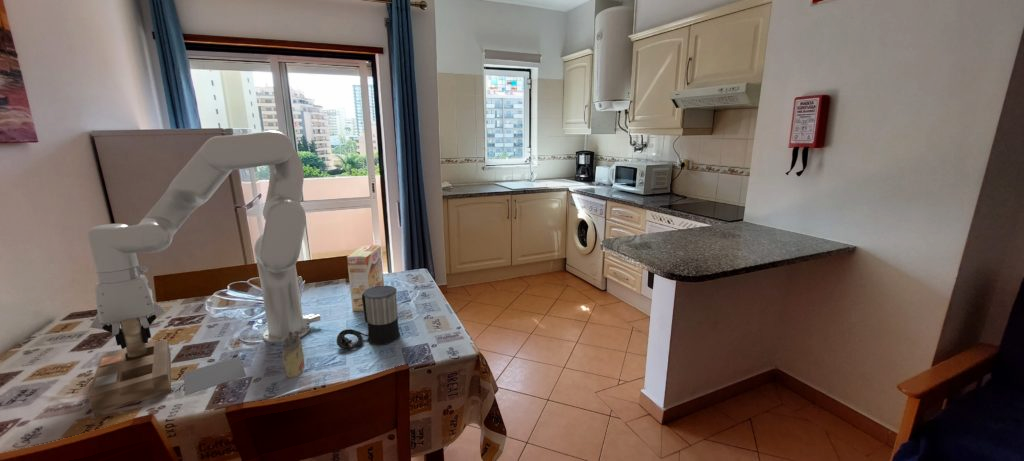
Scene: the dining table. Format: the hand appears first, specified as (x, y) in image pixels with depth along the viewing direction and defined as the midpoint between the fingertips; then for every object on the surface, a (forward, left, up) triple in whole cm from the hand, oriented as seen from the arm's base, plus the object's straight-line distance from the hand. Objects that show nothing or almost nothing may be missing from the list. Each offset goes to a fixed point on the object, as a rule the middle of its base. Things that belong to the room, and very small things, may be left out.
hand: (135, 343), depth 103 cm
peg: (0, 0, -3) cm, 3 cm away
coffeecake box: (-61, -5, -8) cm, 62 cm away
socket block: (+1, +6, -8) cm, 10 cm away
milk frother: (-51, +23, -8) cm, 56 cm away
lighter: (-30, +26, -8) cm, 40 cm away
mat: (-14, +15, -8) cm, 22 cm away
